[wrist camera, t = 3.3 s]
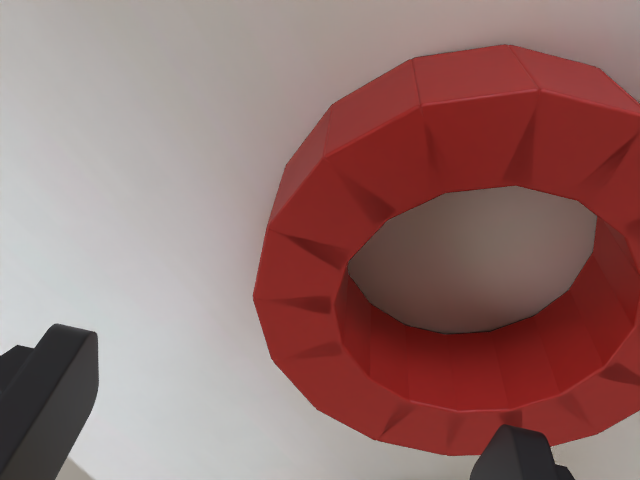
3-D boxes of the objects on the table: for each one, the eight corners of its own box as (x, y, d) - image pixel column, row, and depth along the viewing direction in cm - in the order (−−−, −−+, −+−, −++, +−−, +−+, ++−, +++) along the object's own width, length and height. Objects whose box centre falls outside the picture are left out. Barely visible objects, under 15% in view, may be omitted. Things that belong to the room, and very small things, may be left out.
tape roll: (250, 334, 20) (229, 409, 18) (321, -5, 14) (306, 28, 11) (558, 404, 21) (586, 487, 18) (773, 112, 14) (871, 173, 11)
